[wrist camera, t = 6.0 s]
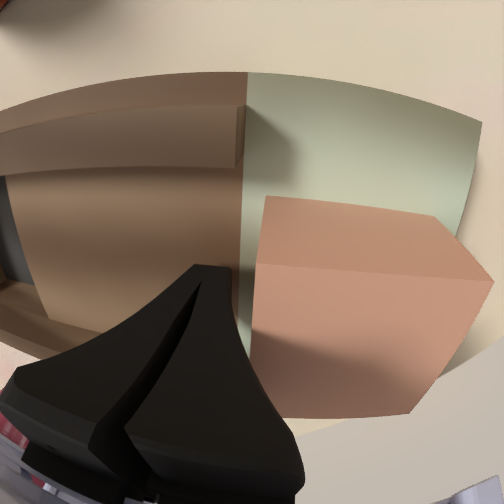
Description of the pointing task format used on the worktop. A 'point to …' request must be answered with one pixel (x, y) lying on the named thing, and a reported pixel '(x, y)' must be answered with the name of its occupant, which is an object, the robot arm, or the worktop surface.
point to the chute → (195, 186)
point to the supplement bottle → (2, 3)
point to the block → (357, 307)
